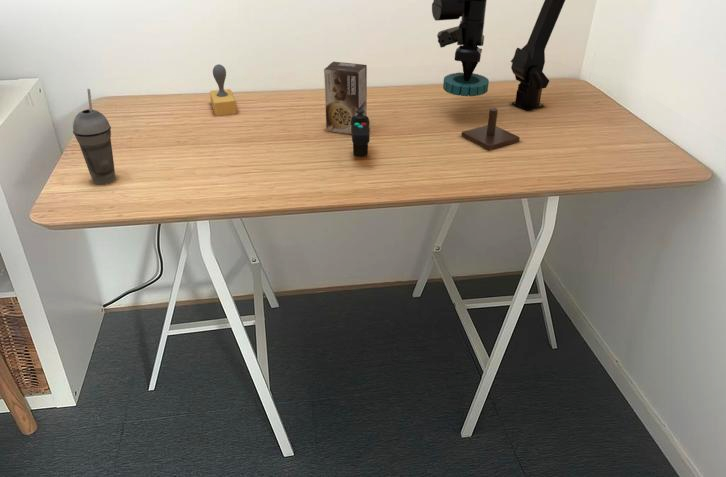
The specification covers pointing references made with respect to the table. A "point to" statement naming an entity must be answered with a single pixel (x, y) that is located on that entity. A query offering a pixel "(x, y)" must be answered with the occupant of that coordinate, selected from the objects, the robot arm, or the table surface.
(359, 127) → the controller
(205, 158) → the table surface
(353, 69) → the coffee box
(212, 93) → the rubber stamp
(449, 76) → the hoop
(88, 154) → the beverage cup
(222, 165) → the table surface
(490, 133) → the stand
